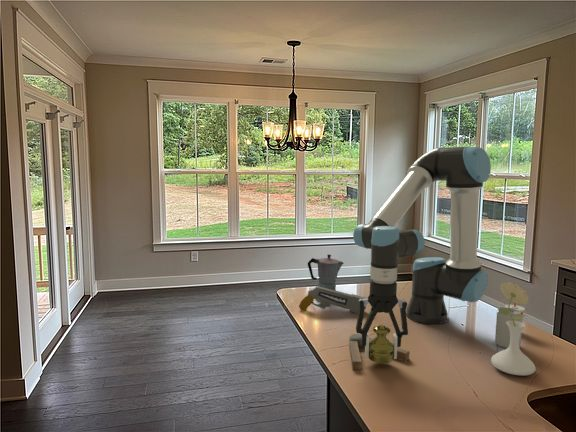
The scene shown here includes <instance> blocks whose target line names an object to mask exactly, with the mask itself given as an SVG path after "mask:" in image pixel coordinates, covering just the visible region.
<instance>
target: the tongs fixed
mask: <svg viewBox="0 0 576 432" xmlns="http://www.w3.org/2000/svg"><path fill="white" fill-rule="evenodd" d="M348 340H349V342H348V345H349V346H348V349H349V353H350V354H349V355H350V361H351V366H352V367H351V368H352V370H353V371H354V370H355V371H361V370H362V359H361V353H360V349H363V348H365V346H363V345H362V334H360V333H355V334H350V335H349V337H348Z"/></svg>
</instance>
